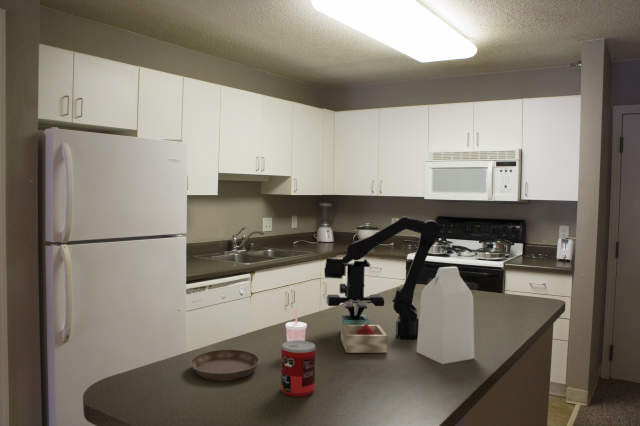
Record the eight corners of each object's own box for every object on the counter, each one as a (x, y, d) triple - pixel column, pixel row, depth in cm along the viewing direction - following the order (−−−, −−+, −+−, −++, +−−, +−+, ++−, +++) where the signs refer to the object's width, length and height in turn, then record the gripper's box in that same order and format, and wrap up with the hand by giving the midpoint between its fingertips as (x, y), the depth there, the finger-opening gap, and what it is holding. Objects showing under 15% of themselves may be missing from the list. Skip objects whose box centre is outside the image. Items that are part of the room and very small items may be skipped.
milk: (442, 364, 145) (445, 271, 144) (416, 351, 155) (419, 265, 154) (474, 358, 151) (478, 269, 149) (447, 347, 161) (450, 263, 160)
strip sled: (369, 329, 178) (370, 314, 178) (386, 352, 153) (387, 335, 153) (335, 329, 177) (335, 314, 176) (346, 352, 152) (347, 335, 151)
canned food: (280, 384, 127) (281, 340, 126) (313, 384, 128) (314, 340, 127) (280, 397, 119) (281, 350, 119) (315, 397, 120) (316, 350, 119)
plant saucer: (226, 389, 123) (226, 377, 123) (175, 373, 133) (175, 361, 133) (273, 369, 138) (273, 358, 138) (224, 356, 148) (224, 345, 148)
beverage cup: (309, 353, 151) (310, 305, 151) (301, 359, 145) (302, 310, 145) (289, 350, 153) (290, 303, 153) (281, 356, 147) (282, 308, 147)
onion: (372, 353, 153) (373, 326, 152) (353, 351, 154) (354, 324, 154) (376, 347, 158) (377, 321, 158) (358, 345, 160) (359, 319, 160)
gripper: (377, 275, 182) (376, 319, 183) (325, 275, 180) (323, 320, 181) (385, 281, 171) (383, 328, 172) (329, 280, 169) (327, 328, 170)
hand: (354, 325), depth 174 cm, fingers closed, pressing on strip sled
